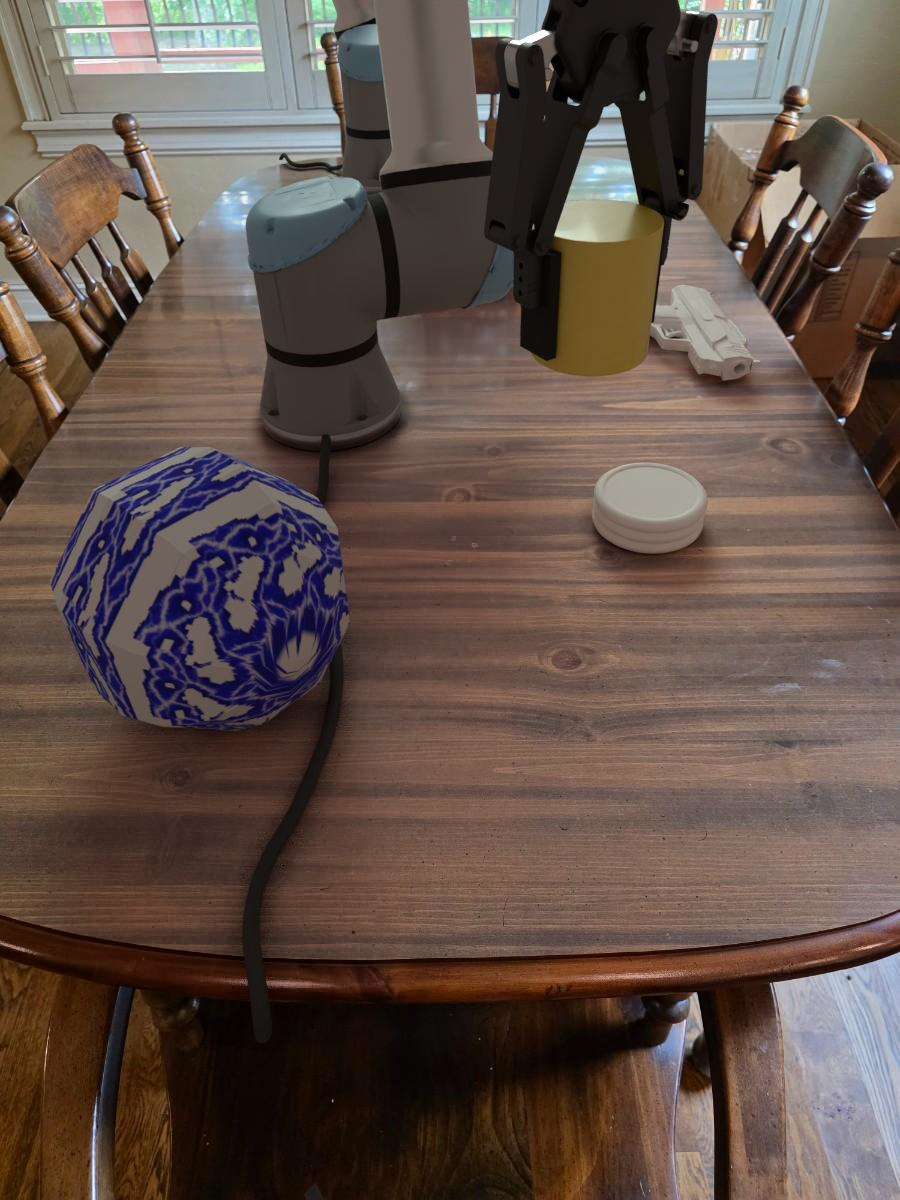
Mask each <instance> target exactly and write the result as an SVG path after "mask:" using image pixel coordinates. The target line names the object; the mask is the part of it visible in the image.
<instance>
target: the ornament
mask: <svg viewBox="0 0 900 1200" xmlns="http://www.w3.org/2000/svg"><path fill="white" fill-rule="evenodd" d="M340 544H341V543H340V535H339V530H338V527H337V525H336V523H335V521H334V520H333V519H332V517H331V515H330V514H329V513H328V511H327V509H326V508H325V506H324V504H323V505H322V504H321V502H320V501H319V499H318V498H317V497H316V495H313V494H312V493H310V492H309V491H307V490H305V489H303V488H302V487H300V486H298V485H296V484H294V483H292V482H290V481H289V480H287V479H285V478H283V477H280V476H279V475H276V474H274V473H271V472H269V471H267V470H264V469H262V468H260V467H257V466H255V465H253V464H251V463H248V462H247V461H244V460H242V459H239V458H236V457H235V456H232V455H230V454H227V453H225V452H223V451H220V450H219V449H216V448H213V447H212V446H180V447H177V448H175V449H174V450H172V451H170V452H168V453H165V454H163V455H161V456H159V457H157V458H155V459H153V460H150V461H149V462H147V463H144V464H143V465H141V466H139V467H137V468H135V469H132V470H130V471H129V472H126V473H123V474H122V475H120V476H118V477H116V478H114V479H112V480H110V481H108V482H106V483H104V484H102V485H100V486H98V487H96V488H93V489H92V491H91V493H90V495H89V497H88V499H87V502H86V504H85V506H84V507H83V510H82V512H81V514H80V516H79V519H78V521H77V523H76V525H75V527H74V530H73V531H72V533H71V535H70V538H69V539H68V543H67V544H66V546H65V548H64V551H63V553H62V555H61V557H60V559H59V561H58V564H57V566H56V568H55V570H54V572H53V573H52V577H51V579H50V581H49V583H50V587H51V591H52V593H53V597H54V600H55V605H56V607H57V610H58V612H59V614H60V617H61V619H62V621H63V623H64V625H65V628H66V630H67V632H68V635H69V636H70V639H71V641H72V643H73V646H74V648H75V650H76V652H77V654H78V657H79V659H80V661H81V664H82V666H83V668H84V670H85V672H86V674H87V677H88V678H89V681H90V683H91V686H92V688H93V690H94V691H95V692H96V693H97V694H98V695H99V696H100V697H101V698H102V699H104V701H106V702H107V704H109V705H110V706H111V707H112V708H114V710H115V711H117V712H118V714H120V715H121V716H122V717H126V718H130V719H133V720H137V721H141V722H144V723H148V724H151V725H155V726H158V727H162V728H178V729H179V728H180V729H194V730H195V729H198V730H212V731H214V730H215V731H229V732H231V731H232V732H238V731H241V730H245V729H250V728H254V727H259V726H262V725H265V724H267V723H268V722H269V721H271V720H273V718H275V717H276V716H278V715H280V714H281V713H282V712H283V711H284V710H286V709H287V708H288V707H290V706H292V704H294V703H295V702H297V701H298V700H299V699H300V698H302V697H303V696H305V695H306V694H307V693H309V692H310V691H312V690H313V689H314V688H316V687H317V686H319V684H320V683H321V682H322V680H323V678H324V675H325V673H326V672H327V670H328V667H330V662H331V660H332V658H333V656H334V654H335V652H336V650H337V648H338V646H339V644H340V642H341V643H342V640H343V638H344V636H345V634H346V632H347V630H348V627H349V626H350V624H351V615H350V605H349V598H348V591H347V584H346V576H345V570H344V563H343V562H344V561H343V555H342V550H341V549H342V548H341V545H340Z"/></svg>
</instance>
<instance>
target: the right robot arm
mask: <svg viewBox="0 0 900 1200" xmlns="http://www.w3.org/2000/svg"><path fill="white" fill-rule="evenodd" d="M331 2H332V4H333V7H334V10H335V12H336V19H335V21H334V25H333V28H332V29H333V33H334V35H335V37H336V40H337V63H338V65H339V71H340V82H341V92H342V103H343V115H344V123H345V133H346V140H345V146H344V152H343V160H342V163H341V164H338V165H331V164H330V163H328V162H325V161H313V162H305V163H304V162H303V163H299V162H298V163H297V162H294V161H293V160H291V158H290V157H289V156H288V154H287V153H286V152H282V153H281V154H280V156H279V158H278V160H279V161H283V160H284V159H285V161H286V163H287V164H288V165H290V166H291V167H293V168H297V169H306V168H315V167H325V168H327V169H328V170H329V171H332V172H334V171H340V176H339V177H348V178H353V179H355V180H357V181H359V182H360V183H361V184H362V185H363V188H364V189H365V190H366V192H367V195H369V194H376V193H382V188H381V180H380V170H381V169H382V167H383V166H384V164H385V163H386V161H387V160H388V158H389V157H390V155H391V152H392V145H391V137H390V129H389V121H388V113H387V105H386V97H385V89H384V81H383V73H382V65H381V57H380V49H379V41H378V33H377V25H376V17H375V9H374V1H373V0H331Z"/></svg>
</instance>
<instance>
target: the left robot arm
mask: <svg viewBox="0 0 900 1200" xmlns="http://www.w3.org/2000/svg"><path fill="white" fill-rule="evenodd" d="M373 1H374V9H375V17H376V25H377V33H378V41H379V49H380V57H381V65H382V73H383V81H384V89H385V97H386V105H387V113H388V121H389V129H390V137H391V145H392V152H391V155H390V157H389V158H388V160H387V161H386V163H385V164H384V166H383V167H382V169H381V170H380V180H381V188H382V193H376V194H369V195H367V192H366V190H365V189H364V188H363V185H362V184H361V183H360V182H359V181H357V180H355V179H353V178H348V177H340V176H336V177H331V176H321V177H313V178H309V179H304V180H300V181H296V182H294V183H291V184H290V183H289V184H288V185H284V186H282V187H280V188H279V187H278V188H277V189H275V190H272V191H271V192H269V193H267V194H266V195H264V196H263V197H262V198H260V199H259V200H258V201H256V202H255V204H254V205H253V206H252V207H251V208H250V210H249V211H248V214H247V216H246V220H245V233H246V239H247V240H246V242H247V248H248V256H247V263H248V266H249V269H250V270H251V271H252V274H253V278H254V279H253V280H254V286H255V292H256V297H257V303H258V309H259V315H260V321H261V326H262V327H261V328H262V331H263V332H262V334H263V339H264V344H265V350H266V354H267V355H266V363H265V370H264V375H263V383H262V389H261V396H260V404H259V413H260V417H261V422H262V426H263V429H264V431H265V432H266V434H267V435H268V436H269V437H271V438H272V439H274V440H275V441H276V442H278V443H280V444H282V445H285V446H287V447H291V448H295V449H299V450H304V451H305V450H306V451H317V452H319V460H318V461H319V462H318V482H317V483H318V484H317V490H316V494H315V497H317V498H318V499H319V501H320V502H321V504H322V505H323V506H324V504H325V502H326V498H327V495H328V491H329V482H330V475H329V474H330V458H331V457H330V456H331V451H338V450H345V449H350V448H355V447H358V446H362V445H365V444H368V443H369V442H372V441H375V440H377V439H378V438H381V437H382V436H384V435H385V434H386V433H388V432H389V431H391V430H392V428H394V427H395V425H396V424H397V423H398V422H399V419H400V418H401V413H402V406H401V405H402V404H401V393H400V390H399V387H398V385H397V383H396V381H395V378H394V376H393V374H392V371H391V369H390V367H389V365H388V362H387V360H386V357H385V355H384V353H383V351H382V349H381V346H380V342H379V336H378V335H379V334H378V322H379V321H381V320H389V319H395V318H396V319H397V318H403V317H409V316H415V315H423V314H429V313H435V312H443V311H450V310H456V309H457V310H458V309H462V310H469V309H471V308H473V307H475V306H479V305H485V304H490V303H495V302H498V301H500V300H501V299H503V298H504V297H506V296H507V294H508V293H509V292H510V291H511V289H512V297H513V298H514V302H515V303H516V304H518V305H520V324H519V325H520V327H519V329H520V332H519V336H520V337H519V346H520V347H521V348H523V349H525V350H526V351H528V352H530V354H531V353H533V354H535V355H537V356H538V357H540V358H542V359H544V360H545V361H549V360H551V359H554V358H556V347H557V329H558V310H559V291H560V273H561V254H562V253H560V252H558V251H556V250H554V249H551V248H550V247H551V244H552V241H553V238H554V235H555V232H556V229H557V226H558V223H559V220H560V217H561V214H562V211H563V208H564V205H565V202H567V199H568V195H569V193H570V189H571V186H572V183H573V181H574V177H575V175H576V172H577V168H578V166H579V163H580V160H581V156H582V153H583V151H584V148H585V144H586V141H587V139H588V136H589V132H590V131H592V130H593V129H595V128H596V127H597V126H598V125H599V122H600V120H601V117H602V114H603V112H604V108H607V107H609V106H611V105H613V104H614V105H615V106H616V107H617V108H618V110H619V113H620V118H621V124H622V128H623V133H624V138H625V143H626V147H627V152H628V153H627V154H628V158H629V163H630V167H631V172H632V178H633V182H634V187H635V191H636V197H637V202H638V204H640V205H643V206H646V207H649V208H651V209H653V210H655V211H656V212H658V213H659V214H660V215H661V216H662V217H663V219H664V228H663V236H662V243H661V251H660V259H659V267H658V274H657V282H656V290H655V298H654V306H653V313H652V321H651V323H653V322H654V318H655V310H656V305H657V303H658V302H657V301H658V293H659V286H660V279H661V270H662V266H664V265H665V263H666V261H667V258H668V252H669V244H670V237H671V230H672V223H673V220H675V221H677V222H678V221H680V222H681V221H682V220H684V219H685V218H686V217H687V215H688V213H689V211H690V204H689V203H686V201H687V200H689V201H696V200H697V199H698V198H699V197H700V195H701V193H702V191H703V184H704V183H703V182H704V159H705V158H704V157H705V141H706V140H705V138H706V120H707V119H706V117H707V116H706V115H707V99H708V98H707V97H708V79H709V78H708V76H709V75H708V73H709V62H710V58H711V53H712V50H713V46H714V41H715V39H716V34H717V30H718V25H719V20H718V16H717V15H716V13H711V12H705V11H699V10H692V9H691V10H690V9H684V8H681V6H680V1H679V0H549V1H548V6H547V10H546V14H545V15H544V17H543V18H544V19H543V20H542V25H541V28H540V31H538V32H535V33H533V34H531V35H529V36H526V37H525V38H522V39H520V40H519V39H514V38H508V37H504V38H502V39H500V40H499V41H498V43H497V44H496V46H495V51H494V58H495V64H496V71H497V79H498V80H497V81H498V87H499V98H498V106H497V115H496V124H495V130H494V131H495V133H494V140H493V149H492V150H491V149H489V147H488V146H486V145H485V143H484V142H483V141H482V139H481V134H480V123H479V122H480V121H479V111H478V110H479V109H478V100H477V99H478V98H477V87H476V77H475V75H476V74H475V66H474V65H475V64H474V55H473V53H474V52H473V43H472V32H471V31H472V30H471V21H470V9H469V0H373ZM550 65H551V67H552V68H550ZM547 82H549V83H548V87H547ZM569 99H570V100H571V101H572V102H573V103H574V104H571V103H569V102H568V100H569ZM575 104H578V105H575ZM681 170H682V171H683V173H680V172H681ZM329 676H330V677H329V688H328V689H329V690H328V697H327V702H326V709H325V713H324V718H323V721H322V722H323V723H322V726H321V730H320V733H319V737H318V740H317V741H316V745H315V748H314V751H313V752H312V755H311V757H310V761H309V763H308V765H307V767H306V770H305V771H304V774H303V776H302V778H301V781H300V783H299V785H298V788H297V790H296V793H295V795H294V797H293V799H292V801H291V804H290V806H289V807H288V810H287V811H286V813H285V815H284V816H283V818H282V820H281V821H280V823H279V824H278V826H277V828H276V830H275V832H274V833H273V834H272V836H271V838H270V839H269V841H268V843H267V845H266V846H265V848H264V850H263V852H262V854H261V856H260V858H259V860H258V862H257V863H256V866H255V868H254V871H253V874H252V876H251V879H250V882H249V886H248V890H247V894H246V897H245V903H244V908H243V915H242V929H241V931H242V932H241V938H242V939H241V940H242V952H243V960H244V967H245V974H246V981H247V987H248V994H249V995H248V996H249V1003H250V1011H251V1020H252V1022H251V1023H252V1029H253V1031H252V1032H253V1037H254V1039H255V1041H256V1042H257V1043H258V1044H264V1043H267V1042H268V1041H269V1040H270V1038H271V1037H272V1033H273V1023H272V1014H271V1005H270V996H269V990H268V982H267V976H266V971H265V970H266V969H265V964H264V957H263V952H262V943H261V933H260V932H261V930H260V929H261V928H260V927H261V925H260V923H261V910H262V904H263V900H264V899H263V898H264V895H265V891H266V886H267V883H268V880H269V878H270V876H271V873H272V870H273V868H274V866H275V864H276V862H277V860H278V858H279V856H280V855H281V853H282V851H283V849H284V848H285V846H286V844H287V843H288V841H289V840H290V838H291V836H292V834H293V833H294V831H295V830H296V828H297V826H298V824H299V822H300V820H301V818H302V817H303V814H304V812H305V810H306V808H307V805H308V803H309V802H310V799H311V796H312V794H313V792H314V790H315V787H316V784H317V782H318V779H319V778H320V775H321V773H322V770H323V768H324V765H325V762H326V761H327V758H328V755H329V752H330V749H331V746H332V743H333V740H334V736H335V733H336V729H337V726H338V721H339V717H340V711H341V704H342V698H343V691H344V690H343V689H344V658H343V649H342V641H341V642H340V644H339V646H338V648H337V650H336V652H335V654H334V656H333V658H332V660H331V662H330V664H329ZM303 1196H304V1198H305V1199H306V1200H325V1199H324V1197H323V1195H322V1192H321V1191H320V1189H319V1187H318V1185H317V1183H316V1182H314V1183H313V1184H312V1186H311V1187H309V1188H308V1189H307V1190H306V1191H305V1192H304V1193H303Z"/></svg>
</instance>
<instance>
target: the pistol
mask: <svg viewBox="0 0 900 1200" xmlns="http://www.w3.org/2000/svg"><path fill="white" fill-rule="evenodd" d="M713 295H714V293H713V292H711V291H707V289H705V288H702V287H697V286H691V285H688V284H677V285H676V286H674V287H672V289H671V293H670V301H669V302H670V303H669V305H658V304H656V310H655V318H654V322H653V323H651V329H650V337H652V338H653V339H655V341H656V343H657V344H658V345H659V347H660V348H661V349H662V350H667V351H678V352H687V357H688V360H689V362H690V364H691V365H692V366H693V368H694V370H695V371H696V373H697V374H698V375H702V374H707V375H708V374H709V375H713V376H717V377H720V378H721V380H722V381H723V382H724V381H731V380H739V379H740V378H742V377H745V376H746V375H748V374H751V373H752V371H753V366H754V365H756V364H757V365H759V364H761V363H762V362H761V360H760V359H754V357H753V356H752V355H751V353H750V352H749V350H748V349H747V348H748V345H749V343H748V340H747V338H746V337H745V335H744V334H743V333H742V331H741V330H740V329H739V328H738V326H737V325H736V324H735V323H734V320H732V319H730V318H729V319H728V320H727V317H726V316H725V315H724V313H723V311H721V308H719V306H718V305H717V303H716V302H715V301H714V299H713ZM673 337H676V338H673Z"/></svg>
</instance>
